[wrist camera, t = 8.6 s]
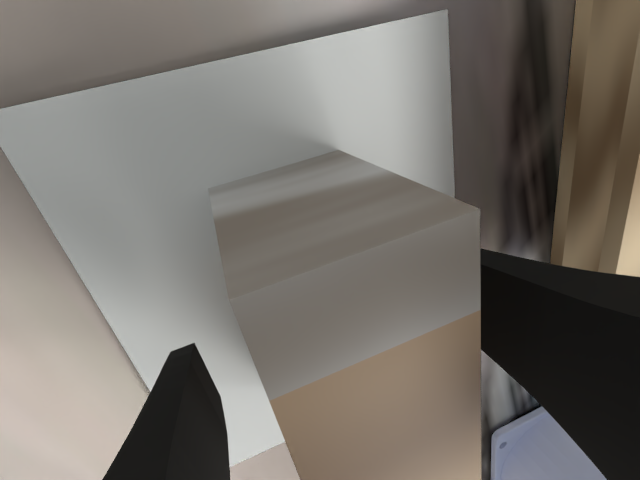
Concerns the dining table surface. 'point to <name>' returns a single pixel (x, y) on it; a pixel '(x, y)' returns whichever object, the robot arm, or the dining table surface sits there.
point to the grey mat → (220, 178)
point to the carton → (601, 143)
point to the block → (359, 316)
